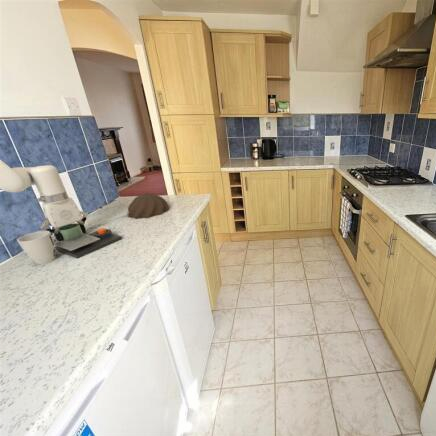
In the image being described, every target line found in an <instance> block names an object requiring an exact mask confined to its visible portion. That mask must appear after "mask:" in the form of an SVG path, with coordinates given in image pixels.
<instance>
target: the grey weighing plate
mask: <svg viewBox="0 0 436 436" xmlns="http://www.w3.org/2000/svg"><path fill="white" fill-rule="evenodd" d="M88 234H89V233H82V234H80V235H77V236H74V237H71V238H69V239H66V240H63V241H58V242H54V246H58V247H61V248H63V249H66V250H68V251H72V250H74V249H77V248H79V247H82V246H84V245H87V244H89V243H92V242H94V241H97V240H99V239H100V238H97V237H94V236H91V235H88Z"/></svg>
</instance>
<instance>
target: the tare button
mask: <svg viewBox="0 0 436 436" xmlns="http://www.w3.org/2000/svg"><path fill="white" fill-rule="evenodd" d="M106 229H107V228H105V227H102V228H99V229H97V230H96V231H97V232H98V234H104V233H106V232H107V231H106Z"/></svg>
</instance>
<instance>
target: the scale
mask: <svg viewBox="0 0 436 436" xmlns="http://www.w3.org/2000/svg"><path fill="white" fill-rule="evenodd" d="M106 231H107V232H106V233H104V234H98V232H97V230H96V231H93V232H91V233H87V234H88V235H91V236H94V237H97V238H100V239H99V240H97V241H94V242H92V243H89V244H87V245H84V246H82V247H79V248H77V249H74V250H72V251H68V250H66V249H63V248H61V247H58V246H56V245H54V246H55V250H56V251H59V252H60V253H63V254H66V255H68V256H71V257H73V258H75V259H80V258H82V257H85V256H88V255H90V254H92V253H94V252H97V251H98V250H101V249H103V248H105V247H108V246H111V245H112V244H115V243H118V242H119V241H121V240H123V238H122V236H121V235H118V234H115V233H113V232H112V229H109V228H106Z"/></svg>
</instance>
